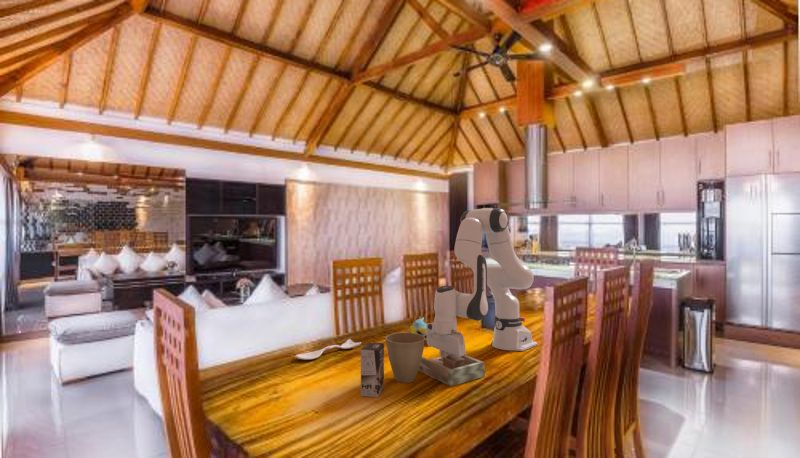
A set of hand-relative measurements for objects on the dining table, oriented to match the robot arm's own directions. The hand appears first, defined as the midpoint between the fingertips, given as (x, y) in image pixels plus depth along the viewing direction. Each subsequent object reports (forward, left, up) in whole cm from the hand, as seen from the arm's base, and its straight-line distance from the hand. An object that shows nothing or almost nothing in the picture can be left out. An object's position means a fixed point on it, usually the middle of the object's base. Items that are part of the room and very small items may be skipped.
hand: (445, 362), depth 165 cm
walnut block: (0, +5, -1) cm, 5 cm away
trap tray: (0, +2, -4) cm, 4 cm away
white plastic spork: (+29, -49, -4) cm, 57 cm away
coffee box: (+34, +1, -4) cm, 34 cm away
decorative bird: (-25, -43, -4) cm, 50 cm away
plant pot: (+18, -2, -4) cm, 18 cm away
